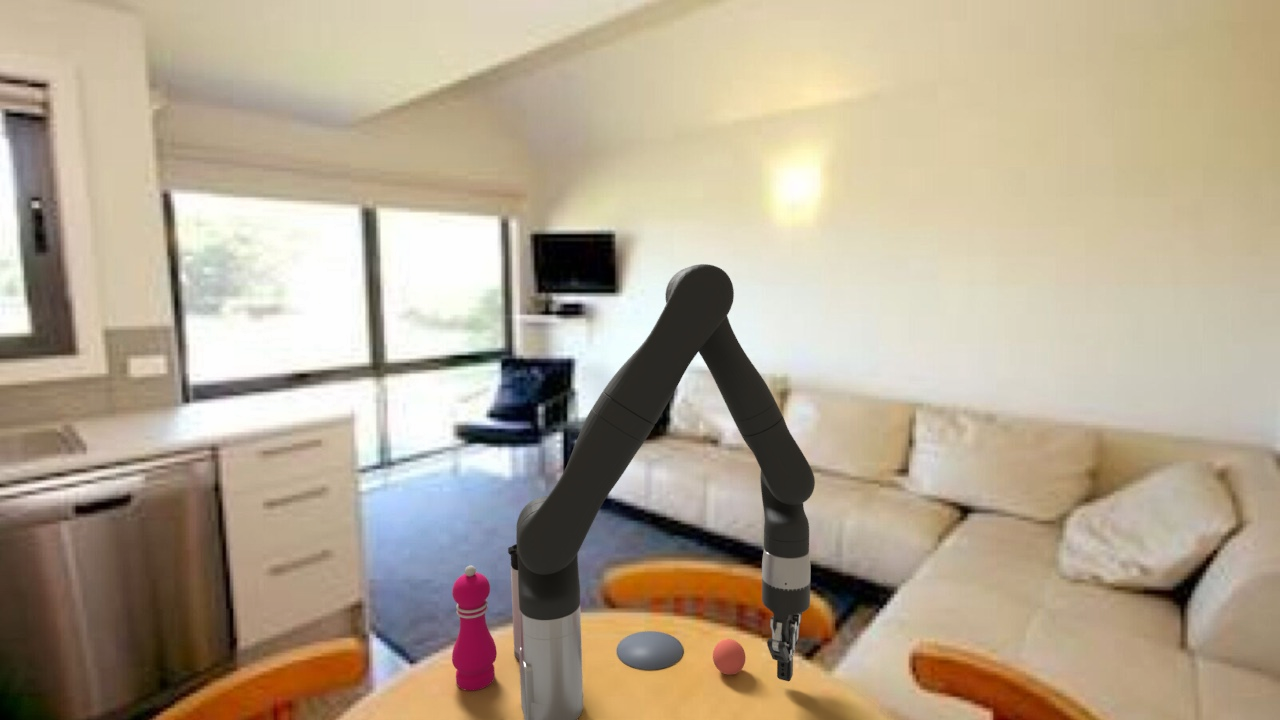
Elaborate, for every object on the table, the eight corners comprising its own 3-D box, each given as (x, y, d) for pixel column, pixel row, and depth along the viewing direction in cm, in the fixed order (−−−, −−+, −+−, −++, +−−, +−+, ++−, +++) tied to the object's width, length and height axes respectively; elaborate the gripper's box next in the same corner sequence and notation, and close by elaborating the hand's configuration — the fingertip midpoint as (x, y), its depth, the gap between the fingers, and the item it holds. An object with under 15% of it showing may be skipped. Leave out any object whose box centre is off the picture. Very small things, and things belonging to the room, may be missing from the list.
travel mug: (508, 648, 118) (504, 542, 115) (543, 639, 121) (540, 536, 118) (517, 666, 112) (512, 556, 110) (553, 656, 115) (550, 548, 113)
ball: (721, 684, 106) (721, 653, 106) (707, 665, 112) (707, 635, 111) (751, 677, 108) (751, 647, 107) (736, 659, 113) (736, 630, 113)
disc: (627, 675, 109) (627, 674, 109) (608, 638, 120) (608, 637, 120) (693, 662, 113) (693, 661, 113) (669, 627, 124) (669, 626, 124)
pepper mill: (486, 695, 104) (480, 577, 102) (445, 690, 106) (438, 574, 103) (504, 669, 111) (499, 558, 109) (465, 664, 113) (460, 555, 110)
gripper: (799, 599, 96) (798, 708, 98) (818, 564, 107) (817, 662, 109) (750, 589, 99) (750, 694, 101) (774, 556, 111) (773, 651, 113)
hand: (784, 677), depth 105 cm, fingers closed
